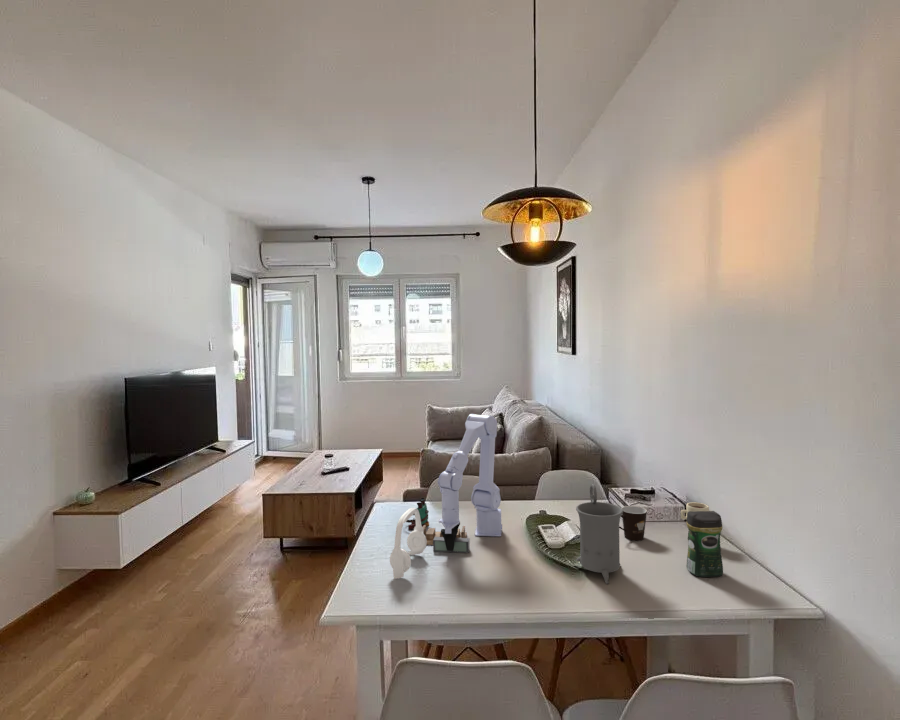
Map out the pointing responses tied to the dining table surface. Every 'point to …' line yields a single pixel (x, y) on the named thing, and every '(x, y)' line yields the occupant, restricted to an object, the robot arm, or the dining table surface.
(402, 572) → the headset
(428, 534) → the stand
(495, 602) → the dining table surface
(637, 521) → the coffee mug
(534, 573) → the dining table surface
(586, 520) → the gray footed pot
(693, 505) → the character mug
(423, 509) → the binoculars
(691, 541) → the coffee jar
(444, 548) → the grey rectangular box
